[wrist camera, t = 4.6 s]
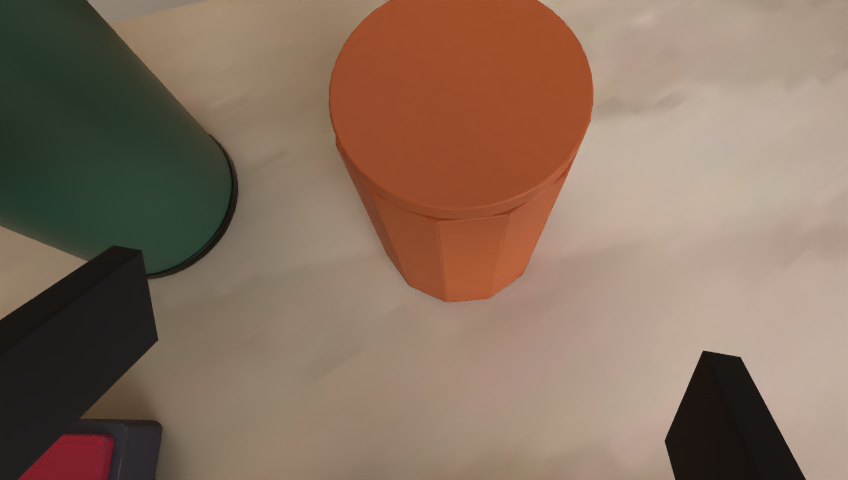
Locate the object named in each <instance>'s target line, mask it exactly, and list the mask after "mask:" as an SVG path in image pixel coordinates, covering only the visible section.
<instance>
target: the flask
mask: <svg viewBox="0 0 848 480" xmlns="http://www.w3.org/2000/svg"><path fill="white" fill-rule="evenodd" d="M237 196H238V181H237V175H236V171H235V168H234V165H233V162H232V161H231V159H230V157H229V155H228V154H227V152H226V151H225V150H224V148H223V147H222V146H221V145H220V144H219V143H218V142H217V141H216V140H215V139H214V138H213V137H212V136H211V135H209V134H208V133H207V132H206V131H205V130H204V129H203V128H202V127H201V126H200V125H199V123H198V122H197V121H196V120H195V119H194V118H193V117H192V116H191V115H190V114H189V112H188V111H187V110H186V109H185V108H184V107H183V106H182V105H181V104H180V103H179V101H178V100H177V99H176V98H175V97H174V96H173V95H172V94H171V93H170V92H169V90H168V89H167V88H166V87H165V86H164V85H163V84H162V83H161V82H160V81H159V79H158V78H157V77H156V76H155V75H154V74H153V73H152V72H151V71H150V70H149V68H148V67H147V66H146V65H145V64H144V63H143V62H142V61H141V60H140V59H139V57H138V56H137V55H136V54H135V53H134V52H133V51H132V50H131V49H130V48H129V46H128V45H127V44H126V43H125V42H124V41H123V40H122V39H121V38H120V37H119V35H118V34H117V33H116V32H115V31H114V30H113V29H112V28H111V27H110V26H109V24H108V23H107V22H106V21H105V20H104V19H103V18H102V17H101V16H100V15H99V14H98V13H97V11H96V10H95V9H94V8H93V7H92V6H91V5H90V4H89V3H88V1H87V0H0V226H2V227H4V228H7V229H9V230H12V231H14V232H17V233H19V234H22V235H24V236H27V237H29V238H31V239H34V240H36V241H39V242H41V243H44V244H46V245H49V246H51V247H54V248H56V249H59V250H61V251H64V252H66V253H69V254H71V255H74V256H76V257H79V258H81V259H84V260H86V261H90V260H92V259H93V258H95V257H96V256H98V255H99V254H101V253H102V252H104V251H105V250H107V249H108V248H110V247H111V246H113V245H116V246H121V247H127V248H132V249H138V250H142V253H143V258H144V264H145V269H146V275H147V279H155V278H161V277H165V276H168V275H172V274H175V273H177V272H179V271H182V270H184V269H186V268H187V267H189V266H191V265H193V264H194V263H196V262H197V261H198V260H200V259H201V258H203V257H204V256H205V255H206V254H207V253H208V252H209V251H210V250H211V249H212V248H213V247H214V246H215V245H216V244H217V243H218V241H219V240H220V239H221V237H222V236H223V234H224V233H225V231H226V230H227V228H228V226H229V224H230V222H231V220H232V217H233V214H234V212H235V207H236V203H237Z"/></svg>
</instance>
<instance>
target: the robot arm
mask: <svg viewBox="0 0 848 480" xmlns="http://www.w3.org/2000/svg"><path fill="white" fill-rule="evenodd" d="M157 341H158V336H157V330H156V325H155V319H154V314H153V308H152V303H151V297H150V292H149V286H148V281H147V275H146V269H145V264H144V258H143V253H142V250H138V249H132V248H127V247H121V246H116V245H113V246H111V247H110V248H108V249H107V250H105V251H104V252H102V253H101V254H99V255H98V256H96V257H95V258H93V259H92V260H90V261H89V262H87V263H86V264H84V265H83V266H81V267H80V268H78V269H77V270H75V271H73V272H72V273H70V274H69V275H67V276H66V277H64V278H63V279H61V280H60V281H58V282H57V283H55V284H54V285H52V286H51V287H49V288H48V289H46V290H45V291H43V292H42V293H40V294H39V295H37V296H36V297H34V298H33V299H31V300H30V301H28V302H27V303H25V304H24V305H22V306H21V307H19V308H18V309H16V310H15V311H13V312H12V313H10V314H9V315H7V316H6V317H4V318H3V319H1V320H0V480H18V479H19V478H20V477H21V476H22V475H23V474H24V473H25V472H26V471H27V470H28V469H29V468H30V467H31V466H32V465H33V464H34V463H35V462H36V461H37V460H38V459H39V458H40V457H41V456H42V455H43V454H44V453H45V452H46V451H47V450H48V449H49V448H50V447H51V446H52V445H53V444H54V443H55V442H56V441H57V440H58V439H59V438H60V437H61V436H62V435H63V434H64V433H65V432H66V431H67V430H68V429H69V428H70V427H71V426H72V425H73V424H74V423H75V422H76V421H77V420H78V419H79V418H80V417H81V416H82V415H83V414H84V413H85V412H86V411H87V410H88V409H89V408H90V407H91V406H92V405H93V404H94V403H95V402H96V401H97V400H98V399H99V398H100V397H101V396H102V395H103V394H104V393H105V392H106V391H107V390H108V389H109V388H110V387H111V386H112V385H113V384H114V383H115V382H116V381H117V380H118V379H119V378H120V377H121V376H122V375H123V374H124V373H125V372H126V371H127V370H128V369H129V368H130V367H131V366H133V365H134V364H135V363H136V362H137V361H138V360H139V359H140V358H141V357H142V356H143V355H144V354H145V353H146V352H147V351H148V350H149V349H150V348H151V347H152V346H153V345H154V344H155V343H156V342H157ZM665 444H666V448H667V451H668V455H669V458H670V462H671V466H672V469H673V473H674V476H675V480H806V479H805V477H804V475H803V474H802V472H801V470H800V468H799V466H798V464H797V462H796V460H795V459H794V457H793V455H792V453H791V451H790V449H789V447H788V445H787V444H786V442H785V440H784V438H783V436H782V434H781V432H780V430H779V429H778V427H777V425H776V423H775V421H774V419H773V417H772V415H771V413H770V412H769V410H768V408H767V406H766V404H765V402H764V400H763V398H762V397H761V395H760V393H759V391H758V389H757V387H756V385H755V383H754V382H753V380H752V378H751V376H750V374H749V372H748V370H747V368H746V367H745V365H744V363H743V361H742V359H741V357H736V356H731V355H725V354H720V353H714V352H708V351H703V352H702V354H701V357H700V359H699V361H698V364H697V366H696V368H695V371H694V373H693V375H692V378H691V380H690V382H689V385H688V387H687V390H686V392H685V394H684V397H683V399H682V401H681V404H680V406H679V408H678V411H677V413H676V415H675V418H674V420H673V422H672V425H671V427H670V429H669V432H668V434H667V436H666V439H665Z"/></svg>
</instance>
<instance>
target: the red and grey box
mask: <svg viewBox="0 0 848 480" xmlns="http://www.w3.org/2000/svg"><path fill="white" fill-rule="evenodd" d="M161 432H162V428H161V425H160V424H159V423H158V422H157V421H151V420H113V419H78V420H77V421H76V422H75V423H74V424H73V425H72V426H71V427H70V428H69V429H68V430H67V431H66V432H65V433H64V434H63V435H62V436H61V437H60V438H59V439H58V440H57V441H56V442H55V443H54V444H53V445H52V446H51V447H50V448H49V449H48V450H47V451H46V452H45V453H44V454H43V455H42V456H41V457H40V458H39V459H38V460H37V461H36V462H35V463H34V464H33V465H32V466H31V467H30V468H29V469H28V470H27V471H26V472H25V473H24V474H23V475H22V476H21V477H20V478H19V479H18V480H154V477H155V471H156V465H157V458H158V452H159V446H160V440H161Z"/></svg>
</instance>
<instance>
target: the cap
mask: <svg viewBox="0 0 848 480" xmlns="http://www.w3.org/2000/svg"><path fill="white" fill-rule="evenodd" d="M592 106H593V82H592V75H591V70H590V67H589V64H588V60H587V57H586V55H585V53H584V51H583V48H582V46H581V44H580V43H579V41H578V39H577V38H576V36H575V35H574V33H573V32H572V30H571V29H570V28H569V27H568V26H567V25H566V24H565V22H564V21H563V20H562V19H561V18H560V17H559V16H557V15H556V14H555V13H554V12H553V11H552V10H551V9H549V8H548V7H546V6H545V5H543V4H542V3H540V2H539V1H537V0H390V1H388V2H386V3H385V4H383V5H382V6H381V7H379V8H378V9H376V10H375V11H373V12H372V13H371V14H370V15H369V16H368V17H367V18H365V19H364V20H363V21H362V22H361V23H360V25H359V26H358V27H357V28H356V29H355V30H354V31H353V32H352V34H351V35H350V37H349V38H348V40H347V41H346V43H345V44H344V46H343V48H342V50H341V52H340V54H339V56H338V58H337V60H336V63H335V66H334V69H333V72H332V77H331V82H330V87H329V108H330V117H331V121H332V125H333V128H334V132H335V134H336V146H337V148H338V151H339V153H340V155H341V157H342V159H343V161H344V163H345V166H346V168H347V170H348V172H349V174H350V176H351V178H352V180H353V183H354V185H355V187H356V189H357V191H358V193H359V195H360V198H361V200H362V202H363V204H364V206H365V208H366V210H367V213H368V215H369V217H370V219H371V221H372V223H373V225H374V227H375V230H376V232H377V234H378V236H379V238H380V240H381V242H382V245H383V247H384V249H385V251H386V253H387V255H388V256H389V258H390V259H391V261H392V262H393V263H394V265H395V266H396V268H397V269H398V270H399V272H400V273H401V275H402V276H403V278H404V279H405V280H406V282H407V283H408V284H409V285H410V286H411V287H414V288H416V289H418V290H420V291H423V292H425V293H427V294H429V295H431V296H434V297H436V298H438V299H440V300H443V301H445V302H456V301H467V300H477V299H488V298H490V297H492V296H493V295H494V294H496V293H497V292H499V291H500V290H501V289H503V288H504V287H506V286H507V285H508V284H510V283H511V282H513V281H514V280H515V279H517V278H518V277H520V276H521V275H522V274H523V272H524V270H525V268H526V266H527V263H528V261H529V259H530V257H531V255H532V252H533V250H534V248H535V246H536V243H537V241H538V239H539V237H540V235H541V232H542V230H543V228H544V226H545V224H546V221H547V219H548V217H549V215H550V212H551V210H552V208H553V206H554V204H555V201H556V199H557V197H558V195H559V192H560V190H561V188H562V186H563V184H564V181H565V179H566V177H567V175H568V172H569V170H570V168H571V165H572V163H573V161H574V158H575V156H576V154H577V151H578V149H579V147H580V144H581V142H582V140H583V138H584V135H585V133H586V130H587V128H588V126H589V123H590V121H591V112H592Z"/></svg>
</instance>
